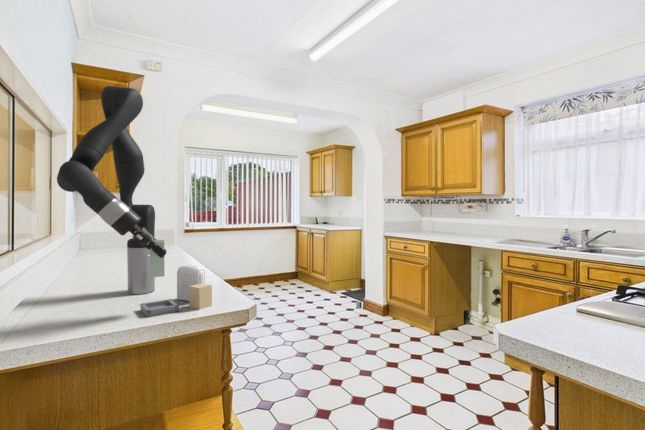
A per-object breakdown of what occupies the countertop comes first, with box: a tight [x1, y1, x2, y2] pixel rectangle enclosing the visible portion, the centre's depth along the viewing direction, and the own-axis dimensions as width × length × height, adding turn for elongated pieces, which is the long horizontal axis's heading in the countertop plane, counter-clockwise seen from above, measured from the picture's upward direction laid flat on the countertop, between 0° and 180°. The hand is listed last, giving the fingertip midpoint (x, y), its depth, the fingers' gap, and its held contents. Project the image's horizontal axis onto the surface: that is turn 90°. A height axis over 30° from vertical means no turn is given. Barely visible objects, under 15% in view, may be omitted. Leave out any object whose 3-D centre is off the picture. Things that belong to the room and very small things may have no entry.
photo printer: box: [176, 264, 206, 302], centre depth 125 cm, size 10×4×12 cm, turn 69°
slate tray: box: [140, 298, 180, 318], centre depth 113 cm, size 9×9×2 cm
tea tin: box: [150, 239, 166, 278], centre depth 112 cm, size 4×4×11 cm
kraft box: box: [188, 283, 213, 311], centre depth 118 cm, size 5×5×7 cm
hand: (164, 254), depth 113 cm, fingers closed on tea tin, 4 cm apart
